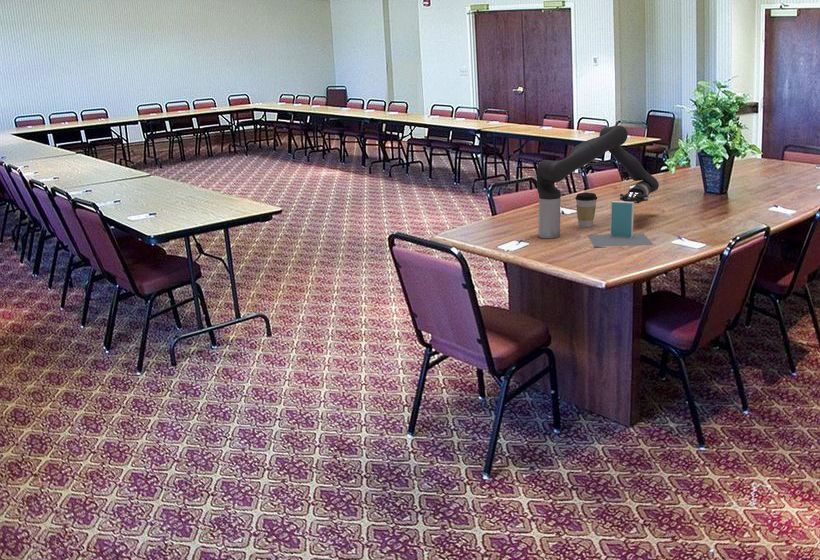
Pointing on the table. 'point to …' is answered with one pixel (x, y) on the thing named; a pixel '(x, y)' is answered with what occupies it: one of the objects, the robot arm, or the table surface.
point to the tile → (622, 218)
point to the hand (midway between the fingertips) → (628, 201)
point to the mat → (618, 240)
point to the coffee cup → (585, 209)
